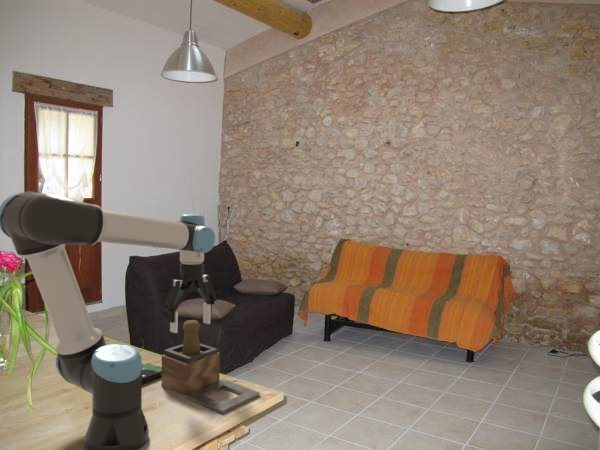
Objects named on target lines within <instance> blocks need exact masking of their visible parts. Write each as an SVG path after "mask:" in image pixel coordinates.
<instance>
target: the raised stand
mask: <svg viewBox="0 0 600 450" xmlns="http://www.w3.org/2000/svg"><path fill="white" fill-rule="evenodd" d="M199 344H200V352H201V353H198V354H195V355H193V356H190V357H189V356H187V355H184V354H182V349H183V343H182V344H178V345H176V346H173V347H168V348H167V349H164V350H163V354H161V367H162V378H161V386H162V387H165V388H167V389H169V390H171V391H174V392H175V393H178V394H181V395H182V396H185V397H186V395H187V394H189V393H192V392H194V391H196V390H199V389H201V388H203V387H206V386H208V385H211V384H213V383H215V382H218V381H220V362H221V361H220V359H221V358H220V357H221V354H220V353H221V352H219V351H218V348H216V347H212V346H211V345H207V344H203V343H200V342H199Z"/></svg>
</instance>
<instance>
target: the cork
mask: <svg viewBox="0 0 600 450" xmlns="http://www.w3.org/2000/svg"><path fill="white" fill-rule="evenodd" d="M200 327H201V326H200V323H199V321H198V320H196V319H190V320H185V321H184V323H183V325H182V328H183V331H184V336H183V343H182V344H183V349H182V354H184V355H187V356H189V357H190V356H193V355H195V354H198V353H201V352H200V344H199V343H200V337H199V330H200Z"/></svg>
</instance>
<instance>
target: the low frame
mask: <svg viewBox="0 0 600 450" xmlns="http://www.w3.org/2000/svg"><path fill="white" fill-rule="evenodd" d="M222 389H225V390H227V391H228V392H229V391H230V392H232V393H234V394H237V396H235V397H233V398H230V399H228V400H226V401H224V402H221V401H219V400H217V399H214V398H212V397H209V396H210V395H211V394H213V393H216V392H218V391H220V390H222ZM260 395H261V392H260V391H257V390H255V389H251V388H250V387H249V388H248V387H246V386H243V385H241V384H238V383H235V382H233V381H229V380H228V379H226V378H225V379H224V378H222V379H219V381H218V382H215V383H213V384H211V385H208V386H206V387H203V388H201V389H199V390H196V391H194V392H192V393H189V394H187V395H186V396H185V399H186V400H188V401H191V402H194V403H195V404H197V405H201V406H202V407H205V408H207V409H209V410H212V411H214V412H217V414H218V413H219V414H221V415H224V414H226V413H228V412H230V411H232V410H234V409H237V408H238V407H240V406H242V405H244V404H246V403H249V402H250V401H252V400H254V399H256V398H258V397H260Z"/></svg>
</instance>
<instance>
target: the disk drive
mask: <svg viewBox="0 0 600 450" xmlns="http://www.w3.org/2000/svg"><path fill="white" fill-rule="evenodd" d="M159 379H162V366H159V365H153V364H151V363H150V362H148V363H142V386H144V385H147V384H148V383H151V382H154V381H157V380H159Z"/></svg>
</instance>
